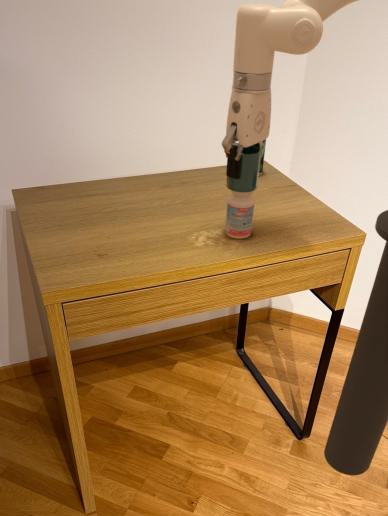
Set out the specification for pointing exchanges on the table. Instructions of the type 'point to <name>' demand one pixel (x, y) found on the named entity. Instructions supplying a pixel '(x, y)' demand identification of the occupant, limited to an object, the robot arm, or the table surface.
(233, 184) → the cup
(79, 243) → the table surface
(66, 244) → the table surface
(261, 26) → the robot arm
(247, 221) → the pill bottle
